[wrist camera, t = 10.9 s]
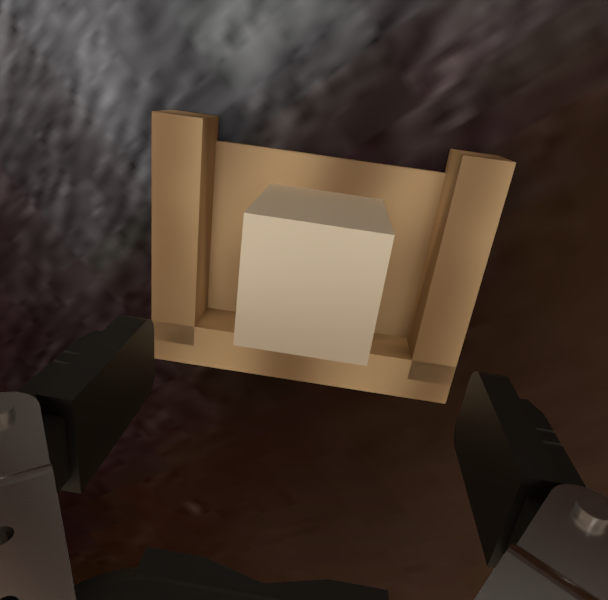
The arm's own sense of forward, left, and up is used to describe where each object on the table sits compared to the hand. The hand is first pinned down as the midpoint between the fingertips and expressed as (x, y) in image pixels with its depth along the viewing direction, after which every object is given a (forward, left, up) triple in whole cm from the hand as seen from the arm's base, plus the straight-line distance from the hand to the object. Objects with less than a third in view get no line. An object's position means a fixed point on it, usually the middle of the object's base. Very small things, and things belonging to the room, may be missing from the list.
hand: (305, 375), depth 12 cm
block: (0, 0, -11) cm, 11 cm away
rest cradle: (0, +1, -11) cm, 11 cm away
